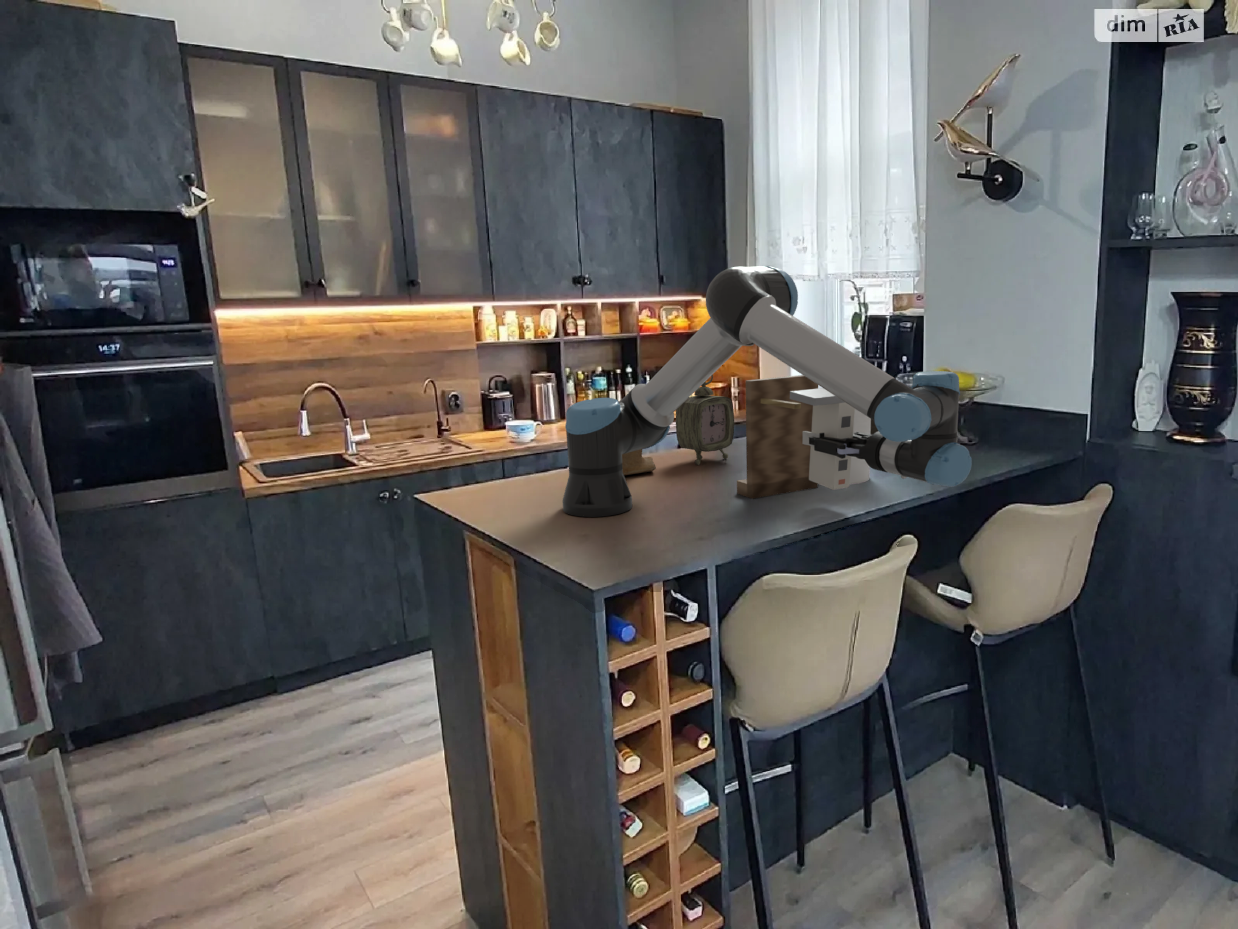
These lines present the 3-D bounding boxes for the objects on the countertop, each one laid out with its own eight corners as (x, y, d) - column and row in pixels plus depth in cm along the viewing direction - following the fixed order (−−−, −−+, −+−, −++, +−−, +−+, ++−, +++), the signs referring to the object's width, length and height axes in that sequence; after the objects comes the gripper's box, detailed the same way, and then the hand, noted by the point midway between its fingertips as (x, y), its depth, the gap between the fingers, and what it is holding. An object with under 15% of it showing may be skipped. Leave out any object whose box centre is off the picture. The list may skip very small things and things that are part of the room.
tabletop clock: (697, 467, 212) (694, 372, 207) (673, 463, 219) (671, 371, 214) (734, 459, 221) (733, 367, 216) (711, 455, 228) (709, 366, 223)
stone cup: (611, 482, 199) (608, 422, 196) (595, 473, 210) (592, 417, 207) (666, 475, 205) (665, 417, 202) (647, 467, 216) (645, 411, 213)
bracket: (784, 510, 166) (784, 385, 161) (737, 493, 183) (735, 379, 177) (853, 498, 174) (855, 378, 169) (801, 482, 190) (801, 372, 185)
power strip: (809, 494, 160) (815, 398, 155) (785, 483, 168) (789, 391, 162) (872, 483, 167) (879, 391, 162) (846, 473, 174) (852, 384, 169)
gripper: (856, 478, 146) (779, 458, 167) (926, 467, 153) (844, 448, 174) (857, 438, 145) (779, 422, 166) (928, 428, 152) (845, 414, 173)
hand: (813, 436), depth 170 cm, fingers closed on power strip, 4 cm apart
